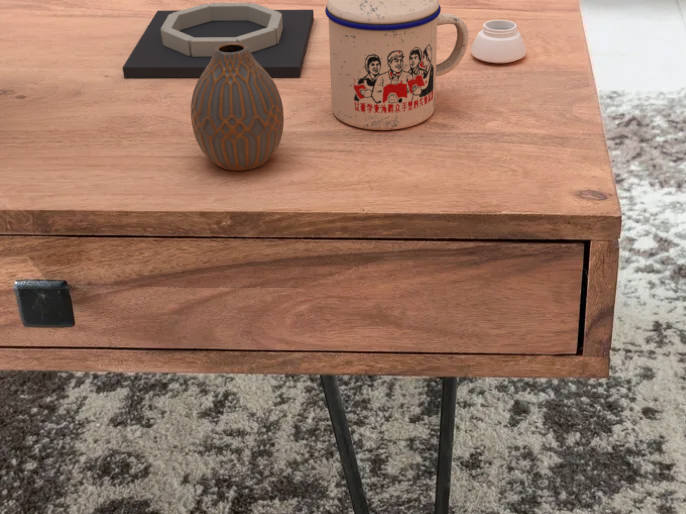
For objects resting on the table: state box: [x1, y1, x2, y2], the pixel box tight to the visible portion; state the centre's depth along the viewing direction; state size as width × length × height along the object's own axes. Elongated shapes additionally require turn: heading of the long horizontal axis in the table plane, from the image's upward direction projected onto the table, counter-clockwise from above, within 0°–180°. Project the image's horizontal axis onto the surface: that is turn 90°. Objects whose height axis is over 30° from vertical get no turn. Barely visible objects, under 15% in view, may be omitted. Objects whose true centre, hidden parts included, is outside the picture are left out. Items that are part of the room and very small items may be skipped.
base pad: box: [122, 2, 315, 79], centre depth 100 cm, size 16×16×2 cm
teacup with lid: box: [324, 0, 469, 131], centre depth 85 cm, size 12×9×12 cm
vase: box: [190, 42, 285, 172], centre depth 78 cm, size 7×7×9 cm
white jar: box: [470, 19, 527, 64], centre depth 96 cm, size 5×3×5 cm
